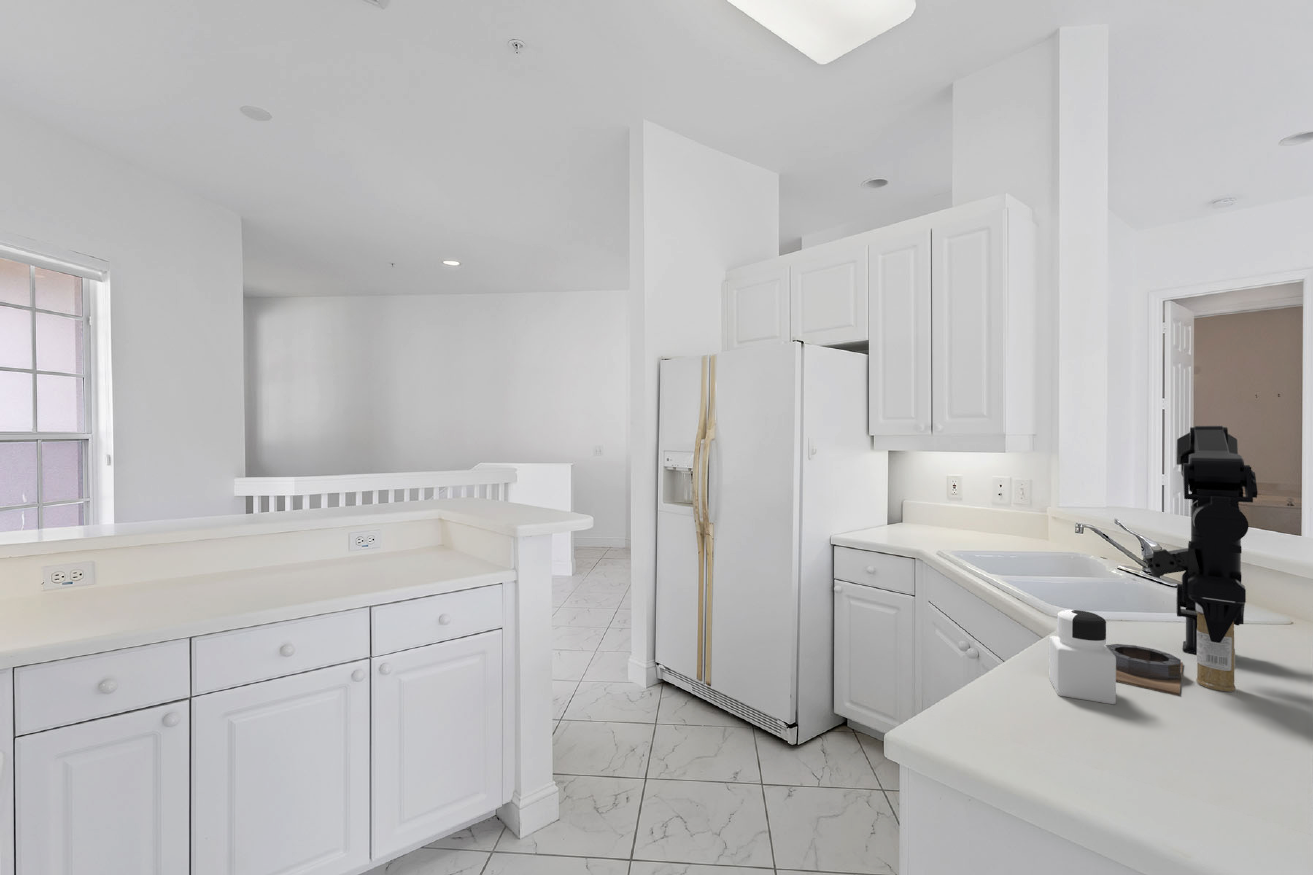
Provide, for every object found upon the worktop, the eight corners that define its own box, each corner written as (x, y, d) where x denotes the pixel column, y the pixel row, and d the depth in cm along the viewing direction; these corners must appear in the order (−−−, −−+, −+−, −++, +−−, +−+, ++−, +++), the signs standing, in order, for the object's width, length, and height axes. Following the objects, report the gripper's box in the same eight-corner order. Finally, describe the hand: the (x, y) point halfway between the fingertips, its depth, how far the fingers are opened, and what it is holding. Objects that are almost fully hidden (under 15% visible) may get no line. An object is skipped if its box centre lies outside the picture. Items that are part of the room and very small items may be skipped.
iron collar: (1108, 653, 106) (1108, 640, 106) (1181, 668, 99) (1181, 654, 99) (1100, 668, 98) (1100, 653, 98) (1179, 685, 92) (1179, 669, 92)
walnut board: (1110, 650, 109) (1110, 648, 109) (1182, 664, 102) (1182, 662, 102) (1096, 677, 95) (1097, 674, 95) (1179, 695, 89) (1179, 692, 89)
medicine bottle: (1103, 687, 91) (1103, 610, 91) (1116, 705, 85) (1116, 622, 85) (1048, 679, 94) (1049, 604, 94) (1057, 696, 88) (1058, 615, 88)
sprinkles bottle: (1239, 688, 92) (1239, 602, 92) (1230, 694, 89) (1230, 606, 89) (1200, 678, 96) (1200, 595, 96) (1191, 684, 93) (1191, 599, 93)
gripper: (1152, 525, 105) (1152, 613, 105) (1144, 536, 91) (1144, 636, 91) (1240, 532, 97) (1240, 627, 97) (1245, 545, 84) (1245, 655, 84)
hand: (1215, 635), depth 93 cm, fingers open, 9 cm apart
